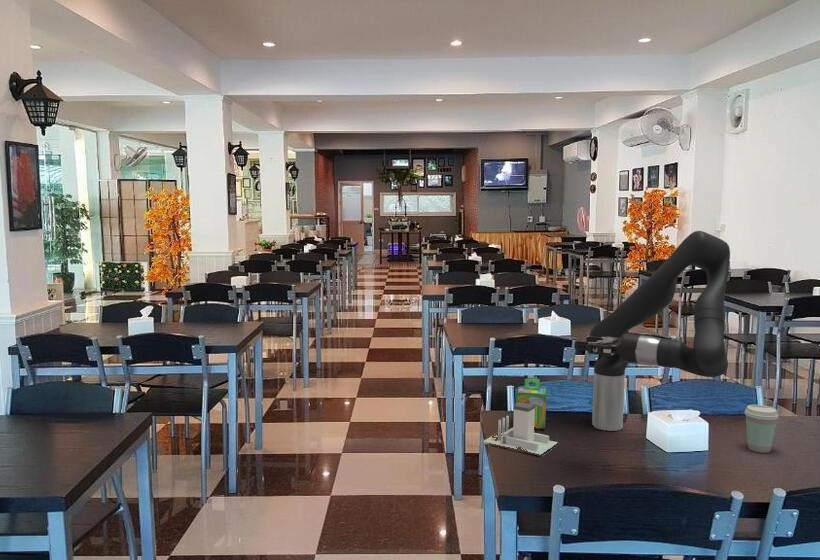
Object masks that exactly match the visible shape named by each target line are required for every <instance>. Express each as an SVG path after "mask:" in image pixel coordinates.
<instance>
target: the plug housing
mask: <svg viewBox="0 0 820 560" xmlns="http://www.w3.org/2000/svg"><path fill="white" fill-rule="evenodd" d="M534 421H535V405H534V404H528V403H522V402H520V403H518V404H516V403H515V404H514V405H513V424H512V425H513V427H512V428H513V438H517V439H522V440H527V441H531V442H534V433H535V430H534Z"/></svg>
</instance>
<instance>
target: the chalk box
mask: <svg viewBox="0 0 820 560" xmlns="http://www.w3.org/2000/svg"><path fill="white" fill-rule="evenodd" d="M530 383H534V384H535V386H530ZM540 383H541V380H540V379H539V378H525V379H524V385H518V387H517V392H516V403H515V405H516V404H518V403H520V402H522V403H528V404H534V405H535V421H534V427H536V428H545V429H546V414H547V413H546V412H547V394H548V390H547V388H546V387H542V386H541V384H540ZM540 386H541V387H540Z"/></svg>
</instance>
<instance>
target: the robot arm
mask: <svg viewBox="0 0 820 560" xmlns="http://www.w3.org/2000/svg"><path fill="white" fill-rule="evenodd" d="M730 259H731V250H730V246H729V243H727V241H725V240H723V239H721V238H719V237H717V236H714V235H713V234H710V233H708V232H705V231H702V230H696V231H694V232H693V231H692V232H691V233H690V234H689V235H687V236H686V237H685V238H684V239H683V241H681V243H680V244H679V245H678V246H677V247H676V249H674V251H673V252H672V253H671V254H670V256H668V258H667V259H666V260H665V261H664V262H663V263H662V264H661V265H660V267H658V268H657V270H655V271H654V272H653V273H652V274H651V275H650V276H649V277H648V278H647V279H646V280H644V281H643V283H641V284H640V285H639V286H638V287H637V288H636V289H635V290H634V291H633V292H632V293H631V294H630V295H629V296H628V297H627V298H626V299H624V300H623V302H621V304H620V305H619V306H617V307H616V309H615V310H614V311H612V312H611V313H610V314H608V315H607V316H606V317H604V318H603V319H601V320H600V321H599V322H598V323H596V324H595V325H593V327H592V328H591V330H590V332H589V336H586V338H585V341H583V340H582V341H581V340H575V341H574V347H573V348H574V349H575V350H576V351H586V352H587V354H589V355H597V356H601V357H600V358H599V359H598V360H596V362H594V366H593V367H594V368H593V389H592V391H593V393H592V394H593V395H592V417H591V425H593V426H594V427H593V426H592V427H593V428H594V429H598V430H601V431H606V430H607V431H609V432H613V431H615V432H616V431H621V430H622V429H623V425H624V402H625V378H626V377H625V376H626V375H625V374H626V369H627V366H628V364H632V365H633V364H634V365H641V366H649V367H663V368H673V369H679V370H681V371H684V372H686V373H691V374H692V375H696V376H700V377H706V378H716V377H720V376H722V375H724V374H725V373H726V372H727V370H728V368H729V361H728V356H727V353H726V348H725V346H726V345H725V336H724V335H725V333H726V318H725V317H726V316H725V315H726V314H725V294H726V289H727V282H728V275H729V267H730V261H731V260H730ZM689 266H690V267H691V266H693V267H696V268H698V269H701V270H703V271H705V272H706V279H707V283H706V285H705V288H704V289H703V291H702V292H701V293H700V294H699V295H698V298H697V299H696V302H695V304H694V308H693V322H694V323H693V324H694V336H693V345H692V346H693V347H689V346H688V345H686V343H685V342H683V341H682V340H678V339H671V338H661V337H656V336H652V335H644V334H634V333H630V332H629V331H630V330H631V329H632V328H635V327H637V326H639V325H641V324H644V323H645V322H647V321H649V320H650V319H652V318H654V317H656V316H657V315H658V314H660V313H661V312H662V311H663V310H664V309H665V308H666V307H667V306H670V304H671V303H672V301H673V300H674V298H675V294H676V288H677V282H678V278H679V276H680V275H681V274H682V273H683V271H685V270H686V269H687V268H688V267H689Z"/></svg>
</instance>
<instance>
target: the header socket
mask: <svg viewBox="0 0 820 560" xmlns="http://www.w3.org/2000/svg"><path fill="white" fill-rule="evenodd" d="M497 422H498V424H497V425H498V426H497V429H498V430H497V433H498V436H497V435H496V436H494V437H498V440H497V441H495V439H496V438H492V436H493V435H492V436H490V437H488V438H486V439H484V440H483V441H482V444H483V445H487V444H489V443H491V444H496V445H500V446H505V447H510V448H514V449H517V448H518V447H521V449H522V448H523V449H524V450H525V449H526V450H527V451H528V452H531V453H535V454H539V455H541V454H543V453H544V452H546V451H547V450H548V449H550V448H552V447H553V446H554V445H556V444H557V443H558V444H559V442H558V441H553V440H550V436H549V435H546V434H542V433H536V432H534V442H531V441H527V440H522V439H517V438H513V427H511V428H510V416H509V415H506V417H502V418H501V419H498V421H497ZM509 428H510V429H509ZM501 431H502V433H501ZM505 431H506V432H505ZM501 435H502V436H501ZM487 446H488V445H487ZM516 447H517V448H516ZM523 449H522V450H523ZM526 450H525V451H526Z"/></svg>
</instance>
